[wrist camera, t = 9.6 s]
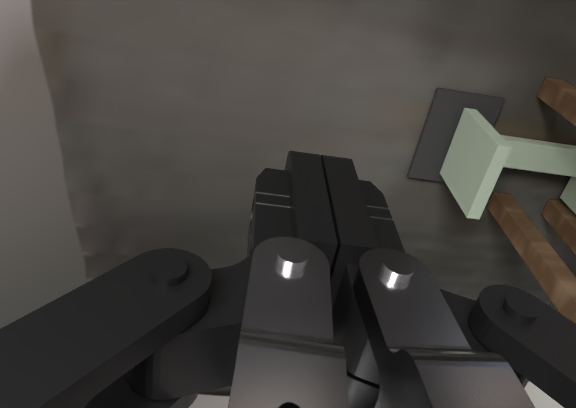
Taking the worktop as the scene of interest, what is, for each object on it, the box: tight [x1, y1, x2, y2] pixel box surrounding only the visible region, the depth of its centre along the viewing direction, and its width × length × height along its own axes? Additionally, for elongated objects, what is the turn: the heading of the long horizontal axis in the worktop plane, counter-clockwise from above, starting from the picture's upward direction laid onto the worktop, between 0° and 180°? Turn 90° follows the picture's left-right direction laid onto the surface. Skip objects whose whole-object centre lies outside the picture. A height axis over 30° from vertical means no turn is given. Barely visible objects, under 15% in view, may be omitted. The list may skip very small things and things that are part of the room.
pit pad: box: [407, 88, 505, 182], centre depth 41 cm, size 8×6×1 cm
